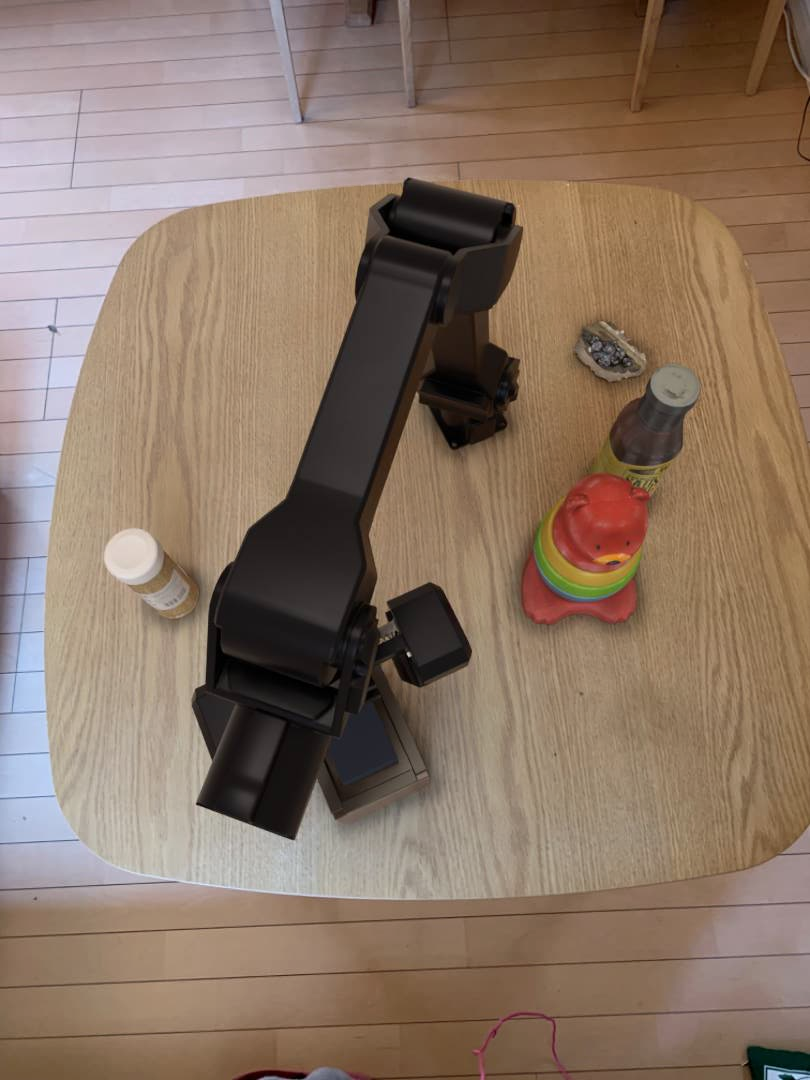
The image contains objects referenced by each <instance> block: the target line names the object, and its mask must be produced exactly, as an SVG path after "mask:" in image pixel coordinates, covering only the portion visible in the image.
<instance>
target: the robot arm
mask: <svg viewBox="0 0 810 1080" xmlns="http://www.w3.org/2000/svg"><path fill="white" fill-rule="evenodd" d="M401 190H402V192H401V194H400V195H399V194H396V193H388V194H386V195H385V196H383V197H382V198H381V199H379V200H378V201H376V203H374V204H373V205H371V206H370V207H369V209H368V217H367V224H366V232H365V240H364V248H363V250H362V252H361V255H360V259H359V262H358V265H357V270H356V276H355V282H354V298H355V299H354V300H355V303H354V306H353V308H352V312H351V314H350V315H351V316H350V318H349V321H348V324H347V326H346V329H345V332H344V335H343V338H342V341H341V343H340V346H339V348H338V352H337V355H336V357H335V360H334V363H333V366H332V368H331V372H330V374H329V378H328V380H327V383H326V386H325V389H324V391H323V394H322V397H321V399H320V402H319V406H318V408H317V411H316V414H315V415H314V416H315V417H314V420H313V422H312V425H311V428H310V431H309V434H308V435H307V436H308V437H307V439H306V442H305V445H304V447H303V451H302V453H301V455H300V459H299V462H298V465H297V468H296V470H295V473H294V476H293V479H292V481H291V483H290V486H289V487H288V490H287V492H286V495H285V498H284V499H283V500H282V501H280V502H279V503H278V504H276V506H273V508H271V509H270V510H269V511H268V512H266V513H265V514H264V515H263V516H262V517H260V518H259V519H257V520H256V521H255V522H254V523H253V524H251V525H250V526H249V528H247V531H246V532H245V534H244V536H243V539H242V542H241V544H240V546H239V549H238V551H237V554H236V556H235V558H234V560H233V561H230V562H229V563H228V564H227V565H226V566H225V567H224V569H223V570H222V571H221V573H220V574H219V577H218V579H217V581H216V583H215V585H214V589H213V591H212V593H211V597H210V601H209V605H208V614H207V633H206V634H207V635H206V655H205V657H206V659H205V679H204V680H205V681H204V684H202V685H200V686H198V687H195V688H194V691H193V693H192V697H191V699H190V700H191V701H190V702H191V703H190V704H191V709H192V711H193V714H194V716H195V719H196V721H197V725H198V728H199V731H200V732H201V735H202V738H203V740H204V743H205V746H206V749H207V751H208V754H209V757H210V759H211V764H210V766H209V769H208V772H207V774H206V776H205V778H204V781H203V784H202V786H201V789H200V791H199V794H198V796H197V798H196V801H195V805H196V806H198V807H201V808H204V809H207V810H210V811H211V812H214V813H217V814H220V815H223V816H225V817H228V818H231V819H234V820H237V821H239V822H241V823H244V824H247V825H250V826H252V827H255V828H258V829H261V830H263V831H266V832H267V833H268V832H269V833H271V834H274V835H276V836H279V837H282V838H285V839H287V840H290V841H296V839H297V836H298V833H299V831H300V827H301V825H302V822H303V819H304V816H305V814H306V811H307V808H308V806H309V802H310V799H311V797H312V795H313V791H314V789H315V786H316V783H317V782H318V779H317V778H318V775H319V772H320V769H321V767H322V764H323V761H324V758H325V756H326V753H327V750H328V747H329V745H330V742H331V739H332V737H335V738H338V739H341V737H342V734H343V732H344V729H345V726H346V724H347V721H348V718H349V715H350V713H351V714H354V715H358V714H359V712H360V710H361V708H362V706H364V705H366V704H368V703H370V702H372V701H374V700H376V699H378V698H381V696H380V694H379V691H378V689H377V686H376V684H375V681H374V669H373V667H375V666H377V665H379V664H380V665H381V664H384V663H385V662H388V661H390V660H392V664H393V666H394V669H395V670H396V673H397V675H398V677H399V679H400V680H401V681H402V682H405V683H407V684H409V685H412V686H414V687H416V688H419V689H422V688H424V687H426V686H429V685H430V684H432V683H434V682H438V681H439V680H442V679H443V678H445V677H448V676H450V675H452V674H454V673H456V672H458V671H461V670H463V669H464V668H467V667H468V666H469V663H470V661H471V658H472V654H473V650H472V646H471V644H470V641H469V639H468V637H467V635H466V633H465V631H464V629H463V627H462V625H461V623H460V621H459V620H458V617H457V615H456V613H455V611H454V609H453V607H452V605H451V603H450V601H449V599H448V597H447V595H446V593H445V591H444V590H443V588H442V586H440V585H438V584H435V583H433V582H431V581H428V582H427V583H424V584H422V585H420V586H418V587H416V588H413V589H411V590H408V591H406V592H404V593H402V594H400V595H398V596H396V597H393V598H391V599H389V600H387V601H386V606H387V608H388V610H387V611H385V612H384V615H385V618H386V623H385V624H382V625H380V626H378V624H379V621H380V619H379V618H377V616H378V615H377V614H378V608H377V606H376V605H373V604H371V603H372V599H373V596H374V593H375V590H376V586H377V583H378V571H377V566H376V561H375V557H374V553H373V548H372V544H371V539H370V532H371V529H372V525H373V523H374V519H375V516H376V512H377V509H378V507H379V504H380V500H381V497H382V495H383V492H384V488H385V486H386V483H387V480H388V477H389V474H390V471H391V468H392V465H393V463H394V459H395V456H396V453H397V450H398V447H399V444H400V442H401V440H402V439H401V438H402V435H403V433H404V431H405V430H404V429H405V427H406V423H407V421H408V418H409V415H410V411H411V409H412V406H413V403H414V401H415V397H416V394H418V404H421V405H424V406H427V408H428V409H429V411H430V413H431V415H432V416H433V419H434V421H435V423H436V425H437V427H438V428H439V430H440V432H441V434H442V436H443V438H444V440H445V442H446V444H447V445H448V448H449V449H450V450H452V451H457V450H459V449H462V448H464V447H466V446H469V445H471V446H473V445H476V444H478V443H480V442H483V441H485V440H487V439H490V438H492V437H494V436H495V434H497V433H499V432H501V431H504V430H506V429H507V427H508V420H507V419H506V417H505V415H504V414H505V412H507V411H508V408H509V405H510V404H511V403H513V402H515V401H517V398H518V396H519V392H520V385H519V383H518V378H519V376H520V372H521V370H520V369H519V368H520V364H521V359H520V358H516V357H513V356H509V353H508V351H507V350H506V349H504V348H502V347H501V346H499V345H497V344H495V343H493V342H492V341H490V311H489V310H491V309H493V308H494V306H495V305H496V304H498V302H499V300H500V298H501V297H502V295H503V293H504V292H505V290H506V289H507V287H508V285H509V283H510V281H511V279H512V276H513V273H514V271H515V267H516V264H517V262H518V261H517V260H518V258H519V253H520V249H521V244H522V240H523V234H524V226H522V225H519V224H516V222H517V207H516V206H515V204H514V202H511V201H506V200H502V199H498V198H493V197H490V196H487V195H482V194H478V193H473V192H470V191H466V190H462V189H458V188H453V187H450V186H446V185H442V184H437V183H435V182H434V183H433V182H429V181H426V180H422V179H418V178H413V177H411V176H410V177H407V178H405V179H403V183H402V189H401ZM453 444H455V445H453ZM386 637H387V638H388V639H387V640H386ZM381 640H382V641H383V642H381Z"/></svg>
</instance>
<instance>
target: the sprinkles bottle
mask: <svg viewBox="0 0 810 1080" xmlns="http://www.w3.org/2000/svg"><path fill="white" fill-rule="evenodd" d="M103 562H104V565H105V567H106V569H107V571H108V572H109V573H110V574H111V575H112V576H113V577H114V578H115V579H117V581H119V582H121V583H123V584H125V585H127V586H128V587H129V589H130V590H132V591H133V592H134V593H135V594H137V595H138V596H139V597H140V598H141V599H142V600H143V601H144V602H146V603H147V604H148V605H149V606H151V607H152V608H154V609H155V611H156V612H157V613H158V615H160V616H161V617H162V618H166V619H169V620H175V619H182V618H183V617H186V616H187V615H188V614H191V612H193V611H194V609H195V608H196V607H197V604H198V601H199V595H200V591H199V587H198V585H197V583H196V582H195V581H194V580H193V578H192V577H190V576H188V575H187V572H186V571H185V570H184V568H182V567H181V566H180V565H179V563H177V561H176V560H174V559H173V558H172V557H171V556H170V555H169V554H168V553H167V552H166V551H165V550H164V548H163V546H162V544H161V543H160V541H159V540H158V539H157V537H155V536H154V535H153V534H152V533H151V532H149V531H148V530H146V529H143V528H141V527H128V528H125V529H122V530H120V531H118V532H116V533H115V534H114V535H112V537H111V538H110V539H109V540H108V542H107V543H106V546H105V548H104V552H103Z"/></svg>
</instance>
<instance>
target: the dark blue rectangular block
mask: <svg viewBox="0 0 810 1080" xmlns="http://www.w3.org/2000/svg"><path fill="white" fill-rule="evenodd" d="M328 750H329V752H330V755H331V757H332V760H333V762H334V764H335V767H336V769H337V772H338V774H339V777H340V779H341V782H342V784H344V785H345V786H346V787H347V786H350V785H352V784H354V783H356V782H358V781H360V780H362V779H364V778H367V777H369V776H371V775H373V774H375V773H377V772H379V771H382V770H384V769H386V768H388V767H390V766H392V765H394V764H397V763H398V762H399V761H398V758H397V756H396V753H395V751H394V749H393V747H392V744H391V742H390V740H389V737H388V735H387V733H386V731H385V728H384V726H383V724H382V721H381V719H380V717H379V715H378V712H377V710H376V708H375V705H374V703H373V701H372V702H370V703H368V704H366V705H364V706H362V708H361V710H360V712H359V714H358V715H354V714H351V713H350V715H349V718H348V721H347V724H346V726H345V729H344V732H343V734H342V737H341V739H338V738H335V737H332V739H331V742H330V745H329V747H328Z"/></svg>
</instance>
